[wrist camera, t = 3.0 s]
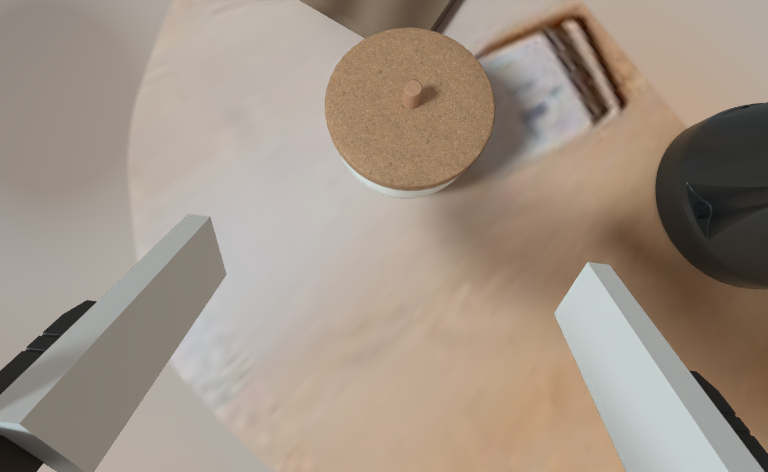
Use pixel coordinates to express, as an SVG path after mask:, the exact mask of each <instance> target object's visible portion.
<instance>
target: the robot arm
mask: <svg viewBox="0 0 768 472" xmlns="http://www.w3.org/2000/svg"><path fill="white" fill-rule="evenodd" d="M656 200H657V206H658V211H659V214H660V217H661V220H662V223H663V225H664V228H665V230H666V232H667V234H668V235H669V237H670V239H671V240H672V242H673V243H674V245H675V246H676V247H677V249H678V250H679V251H680V252H681V253H682V254H683V256H684V257H685V258H686V259H687V260H688V261H689V262H691V263H692V264H693V265H694V266H695V267H697V268H698V269H699V270H701V271H702V272H704V273H705V274H707V275H709V276H710V277H712V278H714V279H716V280H719V281H721V282H723V283H726V284H729V285H733V286H737V287H741V288H749V289H768V102H767V103H758V104H750V105H744V106H739V107H735V108H731V109H728V110H725V111H723V112H720V113H718V114H716V115H714V116H712V117H710V118H708V119H706V120H704V121H701V122H699V123H697V124H695V125H693V126H691V127H690V128H688V129H686V130H685V131H684V132H682V133H681V134H680V135H679V136H678V137H677V138H676V139H675V140H674V141H673V142H672V143H671V144H670V146H669V147H668V149H667V150H666V152H665V154H664V155H663V158H662V160H661V162H660V165H659V169H658V172H657V178H656ZM225 276H226V271H225V267H224V264H223V260H222V257H221V253H220V250H219V246H218V243H217V239H216V236H215V232H214V228H213V225H212V221H211V218H210V217H208V216H199V215H191V214H188V215H187V216H186V217H185V218H184V219H183V220H181V221H180V222H179V223H178V224H177V225H176V226H175V227H174V228H173V229H172V230H171V231H170V232H169V233H168V234H167V235H166V236H165V237H164V238H163V239H162V240H161V241H160V242H159V243H158V244H157V245H156V246H154V247H153V248H152V249H151V250H150V251H149V252H148V253H147V254H146V255H145V256H144V257H143V258H142V259H141V260H140V261H139V262H138V263H137V264H136V265H135V266H134V267H133V268H132V269H131V270H130V271H129V272H128V273H126V274H125V275H124V276H123V277H122V278H121V279H120V280H119V281H118V282H117V283H116V284H115V285H114V286H113V287H112V288H111V289H110V290H109V291H108V292H107V293H106V294H105V295H104V296H102V298H100V299H99V300H98V301H88V300H87V301H85V302H83V303H82V304H80V305H78V306H76V307H75V308H73V309H71V310H70V311H68V312H66V313H64V314H63V315H62V316H61V317H59V319H57V320H56V321H55V322H54V323H53V324H52V325H51V326H49V328H47V329H46V330H45V331H44V332H43V335H42V336H38V337H37V338H36V339H35V340H34V341H33V342H32V343H31V344H30V345H29V346H27V349H26V351H22V352H21V353H20V354H18V355H17V356H16V357H15V358H14V359H13V360H12V361H11V362H10V363H9V364H7V365H6V366H5V367H4V368H3V369H2V370H1V371H0V472H37V471H38V469H39V468H40V467H41V465H42V464H43V463H44V464H46V465H47V466H49V467H50V468H52V469H54V470H55V471H57V472H94V471H95V469H96V468H97V466H98V465H99V463H100V462H101V460H102V459H103V457H104V456H105V455H106V453H107V452H108V450H109V449H110V447H111V446H112V444H113V442H114V441H115V440H116V438H117V436H118V435H119V434H120V432H121V431H122V429H123V428H124V426H125V425H126V423H127V422H128V420H129V419H130V417H131V416H132V414H133V413H134V411H135V410H136V408H137V407H138V405H139V404H140V402H141V401H142V399H143V398H144V396H145V395H146V393H147V392H148V390H149V389H150V387H151V386H152V384H153V383H154V382H155V380H156V379H157V377H158V376H159V374H160V373H161V371H162V369H163V368H164V367H165V365H166V364H167V362H168V361H169V359H170V358H171V356H172V355H173V353H174V352H175V350H176V349H177V347H178V346H179V344H180V343H181V341H182V340H183V338H184V337H185V335H186V334H187V332H188V331H189V329H190V328H191V326H192V325H193V323H194V322H195V321H196V319H197V318H198V316H199V315H200V313H201V312H202V310H203V309H204V307H205V306H206V304H207V303H208V301H209V300H210V298H211V297H212V295H213V294H214V292H215V291H216V289H217V288H218V286H219V285H220V283H221V282H222V280H223V279H224V277H225ZM554 315H555V317H556V319H557V321H558V324H559V326H560V328H561V330H562V332H563V335H564V337H565V339H566V341H567V343H568V345H569V348H570V350H571V352H572V354H573V356H574V359H575V361H576V363H577V365H578V367H579V370H580V372H581V374H582V376H583V378H584V381H585V383H586V385H587V387H588V389H589V391H590V394H591V396H592V398H593V400H594V402H595V405H596V407H597V409H598V411H599V413H600V416H601V418H602V420H603V422H604V424H605V427H606V429H607V431H608V433H609V435H610V438H611V440H612V442H613V444H614V446H615V448H616V451H617V453H618V455H619V457H620V459H621V462H622V464H623V466H624V468H625V470H626V472H768V454H767V452H766V451H765V450H764V448H763V447H762V446H761V445H760V443H759V442H758V441H757V440H756V438H755V437H754V436H751V435H750V431H749V429H748V428H747V427H746V426H745V424H744V423H743V422H742V421H741V419H740V418H739V417H736V416H735V412H734V410H733V409H732V408H731V407H730V405H729V404H728V403H727V401H726V400H725V399H724V398H723V396H722V395H721V394H720V393H719V391H718V390H717V389H715V388H714V387H713V386H712V385H711V384H710V383H709V382H708V381H706V380H705V379H704V378H703V377H702V376H701V375H700V374H698V373H697V372H696V371H689V370H688V369H687V368H686V366H685V365H684V364H683V362H682V361H681V360H680V358H679V357H678V356H677V354H676V353H675V352H674V350H673V349H672V348H671V346H670V345H669V344H668V342H667V341H666V340H665V338H664V337H663V336H662V334H661V333H660V332H659V330H658V329H657V328H656V326H655V325H654V324H653V322H652V321H651V320H650V318H649V317H648V316H647V314H646V313H645V312H644V310H643V309H642V308H641V306H640V305H639V304H638V302H637V301H636V300H635V298H634V297H633V296H632V294H631V293H630V292H629V290H628V289H627V288H626V286H625V285H624V284H623V282H622V281H621V280H620V278H619V277H618V276H617V274H616V273H615V272H614V270H613V269H612V268H611V266H610V265H608V264H599V263H591V262H587V264H586V265H585V267H584V268H583V270H582V271H581V273H580V274H579V276H578V277H577V279H576V280H575V282H574V283H573V285H572V286H571V288H570V290H569V291H568V293H567V294H566V296H565V297H564V299H563V300H562V302H561V303H560V305H559V306H558V308H557V309H556V311H555V312H554Z"/></svg>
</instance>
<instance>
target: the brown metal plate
mask: <svg viewBox="0 0 768 472" xmlns="http://www.w3.org/2000/svg"><path fill="white" fill-rule="evenodd" d="M300 1H302V2H304V3H305V4H307V5H309V6H310V7H312V8H314V9H316V10H317V11H319V12H321V13H322V14H324V15H326V16H328V17H329V18H331V19H333V20H335V21H336V22H338V23H340V24H341V25H343V26H345V27H347V28H348V29H350V30H352V31H353V32H355V33H357V34H359V35H360V36H362V37H364V38H368V37H370V36H372V35H374V34H377V33H380V32H383V31H386V30H391V29H397V28H420V29H426V30H430V31H434V32H435V30H436V29H437V27H438V26H439V24H440V23H441V21H442V20H443V18H444V17H445V15H446V14H447V12H448V11H449V9H450V8H451V6H452V5H453V4H454V2H455V1H456V0H300Z"/></svg>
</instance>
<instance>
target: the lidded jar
mask: <svg viewBox="0 0 768 472" xmlns="http://www.w3.org/2000/svg"><path fill="white" fill-rule="evenodd" d="M325 116H326V121H327V126H328V130H329V132H330V135H331V138H332V140H333V143H334V145H335V146H336V148H337V150H338V152H339V154H340V156H341V158H342V160H343V162H344V163H345V165H346V166H347V168H348V169H349V170H350V172H351V173H352V174H353V175H354V177H356V178H357V179H358V180H359V181H360V182H361V183H362V184H363V185H365V186H367V187H368V188H370V189H371V190H373V191H375V192H377V193H379V194H381V195H384V196H388V197H391V198H398V199H414V198H419V197H424V196H427V195H430V194H433V193H435V192H437V191H439V190H441V189H443V188H445V187H446V186H448V185H449V184H450V183H452V182H453V181H454V180H455V179H457V178H458V177H459V176H460V175H461V174H462V173H463V172H464V171H466V170H467V169H468V168H469V167H470V166H471V165H472V164H473V162H474V161H475V160H476V159H477V158H478V157H479V155H480V154H481V152H482V151H483V149H484V148H485V146H486V145H487V142H488V140H489V138H490V135H491V133H492V129H493V125H494V120H495V100H494V94H493V90H492V86H491V83H490V81H489V79H488V77H487V74H486V72H485V71H484V69H483V68H482V66H481V64H480V63H479V61H478V60H477V59H476V58H475V57H474V56H473V55H472V54H471V53H470V52H469V51H468V50H467V49H466V48H465V47H463V46H462V45H461V44H460V43H458V42H456V41H455V40H453V39H451V38H449V37H447V36H445V35H443V34H440V33H438V32H434V31H430V30H426V29H420V28H397V29H391V30H386V31H383V32H380V33H377V34H374V35H372V36H370V37H368V38H366V39H364V40H363V41H361V42H360V43H358V44H357V45H356V46H354V47H353V48H352V49H351V50H350V51H349V52H348V53H347V54H346V55H344V57H343V58H342V59H341V61H340V62H339V63H338V65H337V66H336V68H335V70H334V72H333V73H332V75H331V77H330V81H329V84H328V87H327V91H326V97H325Z"/></svg>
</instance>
